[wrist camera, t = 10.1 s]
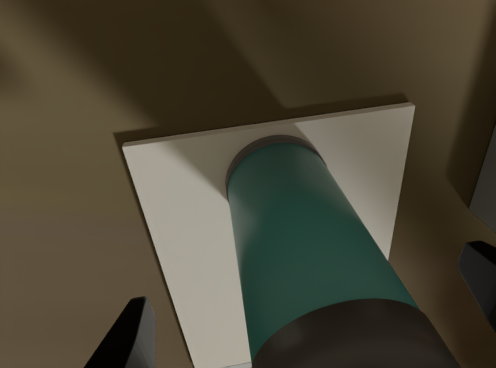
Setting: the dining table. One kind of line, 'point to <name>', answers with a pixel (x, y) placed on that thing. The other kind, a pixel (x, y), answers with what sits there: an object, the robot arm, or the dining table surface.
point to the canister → (317, 270)
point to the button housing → (486, 188)
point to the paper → (219, 217)
